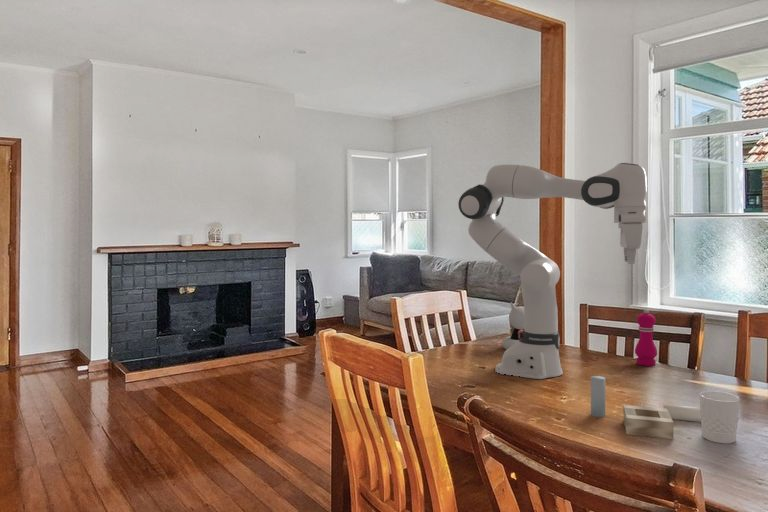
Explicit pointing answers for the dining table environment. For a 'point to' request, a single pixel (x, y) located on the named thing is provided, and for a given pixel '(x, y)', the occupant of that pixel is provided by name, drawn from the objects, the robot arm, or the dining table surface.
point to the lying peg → (684, 412)
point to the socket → (648, 421)
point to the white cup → (719, 416)
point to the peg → (598, 396)
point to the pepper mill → (646, 340)
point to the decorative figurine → (514, 325)
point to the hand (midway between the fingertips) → (629, 262)
